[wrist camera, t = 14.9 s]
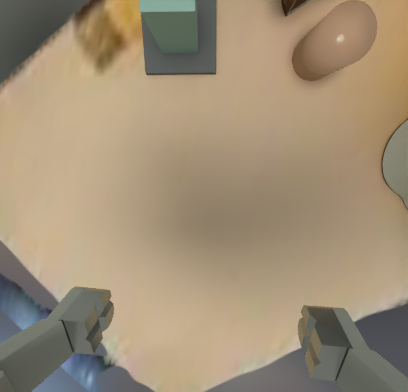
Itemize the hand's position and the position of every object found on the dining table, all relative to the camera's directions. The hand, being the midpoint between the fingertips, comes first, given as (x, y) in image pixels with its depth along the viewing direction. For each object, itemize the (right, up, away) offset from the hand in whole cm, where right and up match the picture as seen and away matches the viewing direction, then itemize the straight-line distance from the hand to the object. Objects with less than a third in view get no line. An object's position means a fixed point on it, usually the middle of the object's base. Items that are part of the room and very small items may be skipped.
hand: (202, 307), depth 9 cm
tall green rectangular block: (-3, +27, +20) cm, 34 cm away
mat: (-3, +27, +21) cm, 35 cm away
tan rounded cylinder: (+16, +25, +22) cm, 37 cm away
